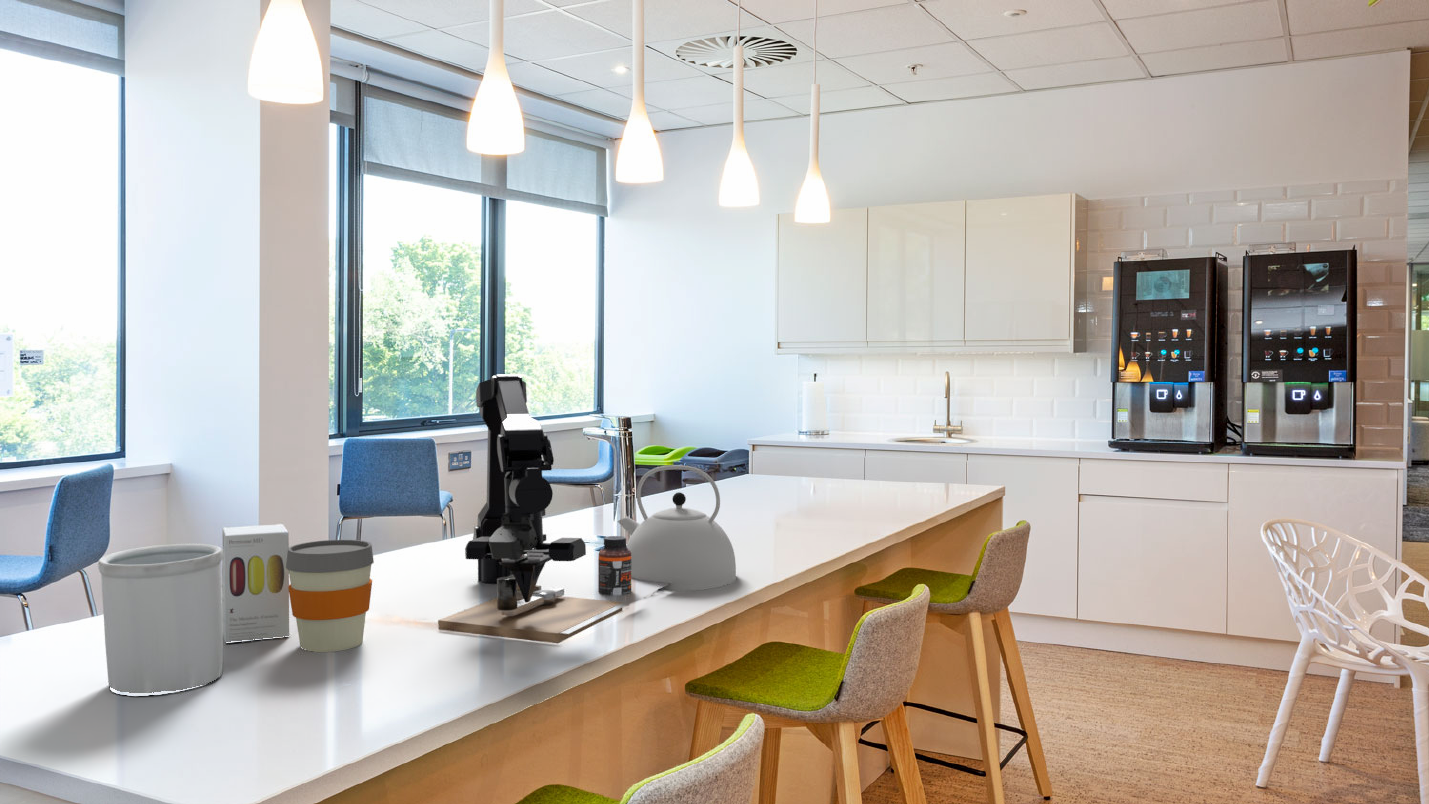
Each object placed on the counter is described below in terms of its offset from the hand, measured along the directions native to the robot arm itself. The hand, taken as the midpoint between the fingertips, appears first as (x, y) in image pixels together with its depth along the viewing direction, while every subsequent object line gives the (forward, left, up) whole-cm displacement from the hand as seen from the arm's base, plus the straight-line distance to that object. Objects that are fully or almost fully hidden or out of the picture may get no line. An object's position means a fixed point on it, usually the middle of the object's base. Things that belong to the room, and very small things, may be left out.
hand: (527, 601), depth 169 cm
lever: (-3, +7, -3) cm, 8 cm away
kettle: (+6, +45, -5) cm, 46 cm away
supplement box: (-38, -18, -5) cm, 43 cm away
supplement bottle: (+4, +24, -5) cm, 24 cm away
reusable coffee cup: (-23, -18, -5) cm, 30 cm away
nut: (-10, +15, -3) cm, 18 cm away
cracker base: (-2, +6, -5) cm, 8 cm away
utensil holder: (-31, -41, -5) cm, 52 cm away
